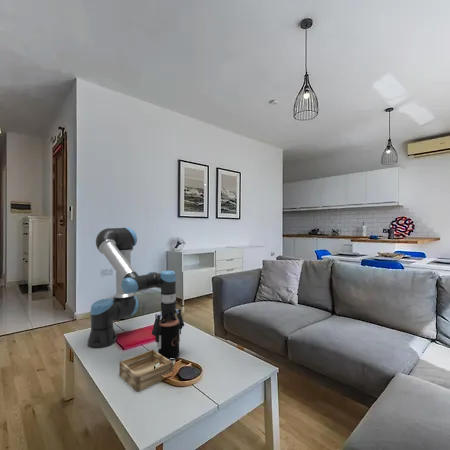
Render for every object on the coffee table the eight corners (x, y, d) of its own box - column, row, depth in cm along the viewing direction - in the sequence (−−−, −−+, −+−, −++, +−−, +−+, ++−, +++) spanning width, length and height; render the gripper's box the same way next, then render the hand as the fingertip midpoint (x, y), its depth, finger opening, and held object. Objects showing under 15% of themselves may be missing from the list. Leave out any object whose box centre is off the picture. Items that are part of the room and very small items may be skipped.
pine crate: (119, 375, 125) (119, 361, 125) (153, 361, 137) (153, 349, 136) (137, 391, 113) (137, 377, 112) (172, 375, 125) (172, 362, 124)
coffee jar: (174, 362, 136) (174, 325, 136) (154, 360, 138) (154, 324, 138) (182, 352, 146) (182, 318, 146) (163, 350, 148) (163, 316, 148)
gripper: (151, 308, 131) (152, 354, 131) (191, 298, 147) (191, 339, 147) (143, 304, 136) (144, 349, 137) (182, 295, 152) (182, 335, 153)
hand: (168, 344), depth 142 cm, fingers closed on coffee jar, 11 cm apart
